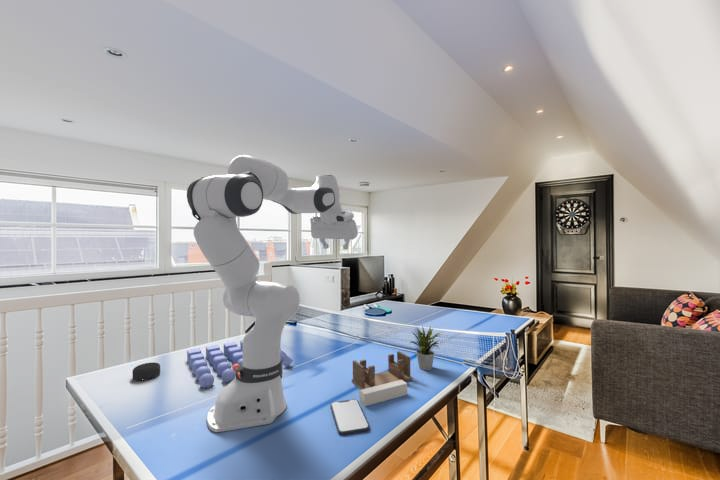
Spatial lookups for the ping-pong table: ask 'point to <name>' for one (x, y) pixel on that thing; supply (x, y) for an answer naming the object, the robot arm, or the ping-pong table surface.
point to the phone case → (349, 417)
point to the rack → (369, 379)
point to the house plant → (425, 348)
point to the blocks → (220, 362)
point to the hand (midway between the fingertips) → (335, 248)
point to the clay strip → (383, 392)
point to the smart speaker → (146, 371)
